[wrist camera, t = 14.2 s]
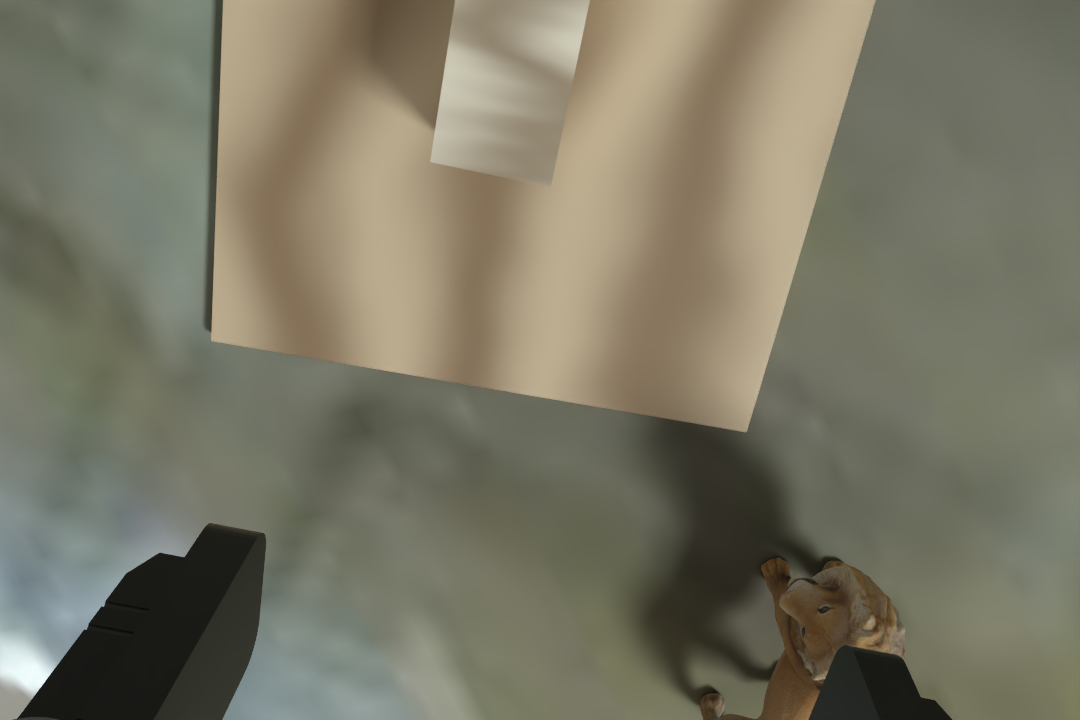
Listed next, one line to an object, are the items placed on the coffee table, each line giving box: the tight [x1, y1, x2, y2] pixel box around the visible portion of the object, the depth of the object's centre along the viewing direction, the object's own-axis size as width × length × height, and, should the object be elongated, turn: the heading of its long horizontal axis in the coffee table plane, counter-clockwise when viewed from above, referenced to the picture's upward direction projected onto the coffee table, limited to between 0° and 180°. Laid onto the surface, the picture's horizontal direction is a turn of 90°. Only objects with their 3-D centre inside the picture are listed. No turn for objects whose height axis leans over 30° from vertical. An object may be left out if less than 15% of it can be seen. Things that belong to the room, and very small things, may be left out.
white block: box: [430, 0, 590, 187], centre depth 30 cm, size 4×4×9 cm
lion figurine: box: [700, 558, 905, 720], centre depth 39 cm, size 15×5×9 cm, turn 172°
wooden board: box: [211, 0, 876, 432], centre depth 34 cm, size 22×20×1 cm
